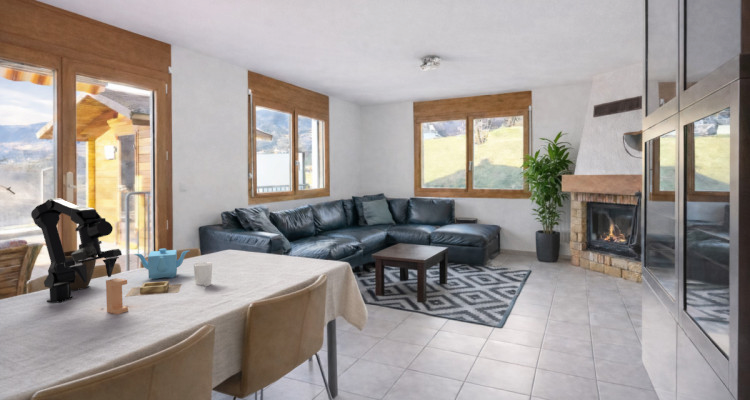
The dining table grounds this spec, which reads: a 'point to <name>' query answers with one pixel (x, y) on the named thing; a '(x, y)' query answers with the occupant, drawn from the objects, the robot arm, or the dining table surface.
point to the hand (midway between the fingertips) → (97, 279)
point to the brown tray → (154, 289)
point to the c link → (115, 296)
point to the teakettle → (162, 263)
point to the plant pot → (78, 281)
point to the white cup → (203, 273)
